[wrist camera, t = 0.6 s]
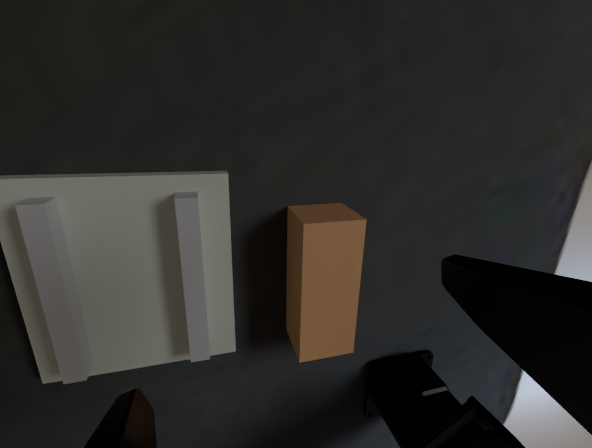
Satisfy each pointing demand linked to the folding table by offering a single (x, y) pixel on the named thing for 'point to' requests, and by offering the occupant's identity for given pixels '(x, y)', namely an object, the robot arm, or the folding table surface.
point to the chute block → (323, 278)
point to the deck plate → (120, 268)
